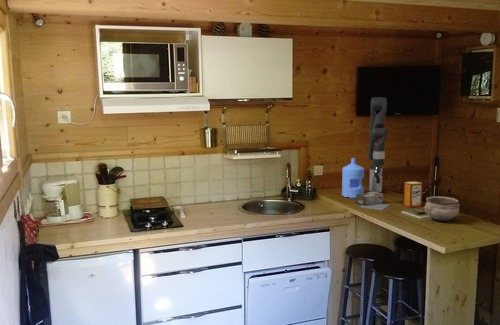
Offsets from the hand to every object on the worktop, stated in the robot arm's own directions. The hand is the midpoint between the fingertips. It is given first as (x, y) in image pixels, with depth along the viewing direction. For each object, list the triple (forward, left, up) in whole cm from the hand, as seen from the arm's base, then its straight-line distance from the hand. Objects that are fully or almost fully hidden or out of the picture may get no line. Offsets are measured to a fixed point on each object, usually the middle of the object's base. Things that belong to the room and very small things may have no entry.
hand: (378, 183), depth 315 cm
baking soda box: (-8, +21, -15) cm, 27 cm away
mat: (+6, 0, -14) cm, 16 cm away
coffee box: (-7, -2, -11) cm, 13 cm away
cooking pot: (+18, +45, -15) cm, 51 cm away
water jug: (-15, -24, -15) cm, 32 cm away
